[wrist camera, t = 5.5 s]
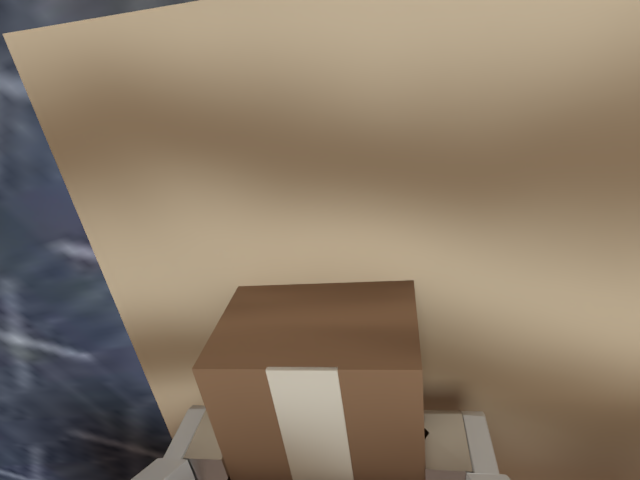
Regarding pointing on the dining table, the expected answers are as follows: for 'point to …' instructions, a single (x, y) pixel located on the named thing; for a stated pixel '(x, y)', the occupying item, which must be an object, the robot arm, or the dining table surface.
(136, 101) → the cork mat
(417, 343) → the brown small block
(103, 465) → the dining table surface
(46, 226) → the dining table surface
